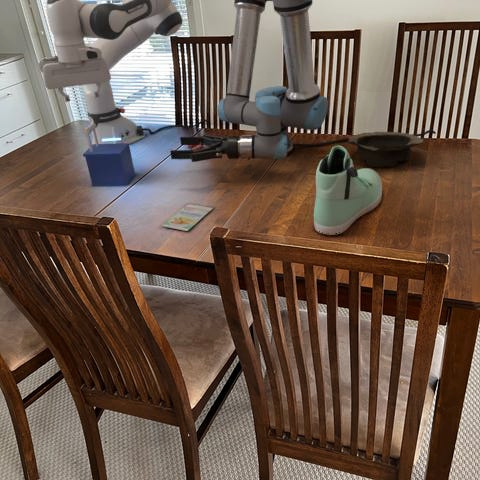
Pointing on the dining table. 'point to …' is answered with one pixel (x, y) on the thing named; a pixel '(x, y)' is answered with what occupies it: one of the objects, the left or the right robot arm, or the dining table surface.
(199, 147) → the candy cane
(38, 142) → the dining table surface
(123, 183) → the chest
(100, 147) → the lid
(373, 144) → the stone bowl
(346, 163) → the sneaker
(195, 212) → the baking ingredient package
